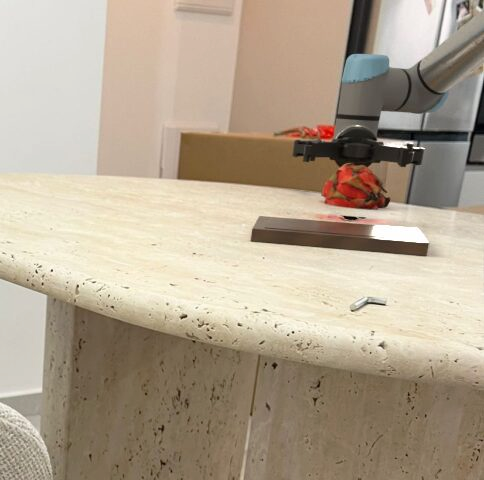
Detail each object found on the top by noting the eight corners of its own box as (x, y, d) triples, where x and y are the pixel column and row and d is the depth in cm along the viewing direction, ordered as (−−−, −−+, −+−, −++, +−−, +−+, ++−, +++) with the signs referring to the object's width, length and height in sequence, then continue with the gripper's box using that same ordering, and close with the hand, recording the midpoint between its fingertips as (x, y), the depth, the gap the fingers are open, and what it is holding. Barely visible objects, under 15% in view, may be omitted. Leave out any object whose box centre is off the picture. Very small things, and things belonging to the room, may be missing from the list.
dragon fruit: (332, 222, 148) (368, 246, 138) (298, 189, 144) (332, 211, 134) (373, 179, 145) (412, 200, 135) (339, 144, 142) (376, 162, 131)
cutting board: (416, 240, 121) (418, 227, 121) (426, 256, 109) (429, 242, 108) (257, 227, 126) (259, 215, 126) (250, 241, 114) (252, 227, 113)
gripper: (425, 175, 164) (439, 185, 145) (279, 165, 170) (273, 174, 151) (434, 130, 161) (449, 134, 142) (285, 121, 167) (279, 124, 148)
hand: (358, 154), depth 147 cm, fingers open, 13 cm apart
